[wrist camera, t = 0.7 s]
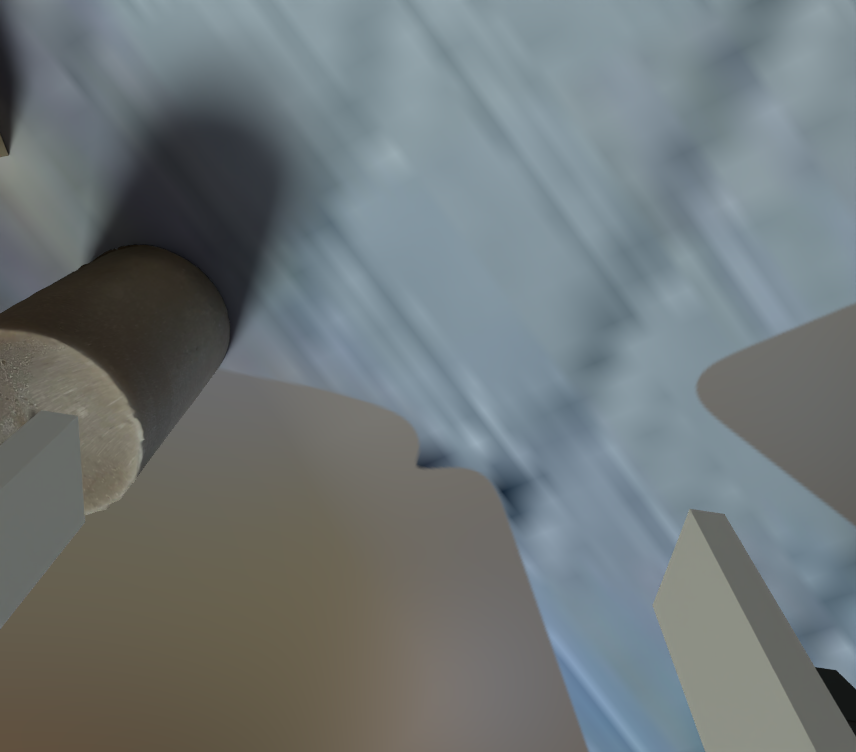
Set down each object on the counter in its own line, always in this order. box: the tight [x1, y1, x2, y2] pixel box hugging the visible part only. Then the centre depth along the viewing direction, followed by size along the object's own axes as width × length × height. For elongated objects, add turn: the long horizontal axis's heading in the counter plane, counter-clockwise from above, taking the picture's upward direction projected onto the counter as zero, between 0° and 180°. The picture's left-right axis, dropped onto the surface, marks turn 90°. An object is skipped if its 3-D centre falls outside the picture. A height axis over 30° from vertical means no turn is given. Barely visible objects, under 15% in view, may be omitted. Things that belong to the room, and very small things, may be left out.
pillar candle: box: [0, 245, 230, 515], centre depth 36 cm, size 10×10×15 cm
